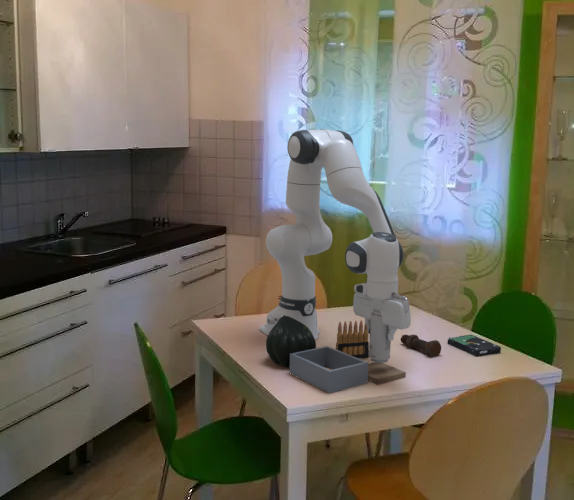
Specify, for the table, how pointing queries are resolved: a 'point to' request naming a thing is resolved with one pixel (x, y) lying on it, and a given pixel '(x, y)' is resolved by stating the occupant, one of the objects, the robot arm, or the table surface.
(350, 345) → the ammunition clip
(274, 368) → the table surface
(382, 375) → the walnut pad
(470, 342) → the disk drive
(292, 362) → the grey rectangular open frame
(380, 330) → the energy drink can
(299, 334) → the squash
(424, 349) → the bolt
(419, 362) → the table surface
